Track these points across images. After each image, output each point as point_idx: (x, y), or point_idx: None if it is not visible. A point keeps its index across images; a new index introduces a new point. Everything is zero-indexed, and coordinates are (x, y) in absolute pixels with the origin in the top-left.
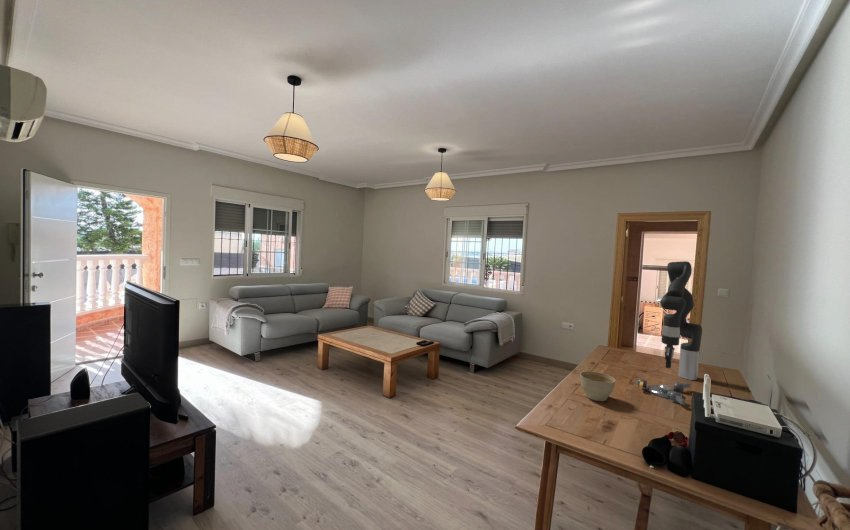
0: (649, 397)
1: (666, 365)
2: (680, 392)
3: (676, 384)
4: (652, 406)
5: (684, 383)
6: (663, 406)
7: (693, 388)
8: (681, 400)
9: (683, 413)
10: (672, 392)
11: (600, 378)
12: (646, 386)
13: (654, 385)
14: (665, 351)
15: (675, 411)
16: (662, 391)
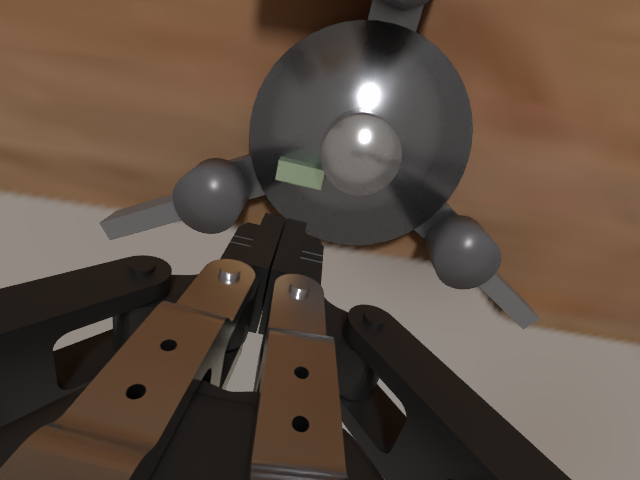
0: (189, 18)
1: (236, 231)
2: (380, 242)
3: (444, 244)
4: (2, 23)
5: (504, 296)
6: (72, 101)
7: (560, 322)
8: (106, 219)
9: (52, 199)
10: (206, 187)
11: None
12: (396, 7)
13: (458, 84)
14: (73, 412)
15: (45, 162)
16: (326, 129)
